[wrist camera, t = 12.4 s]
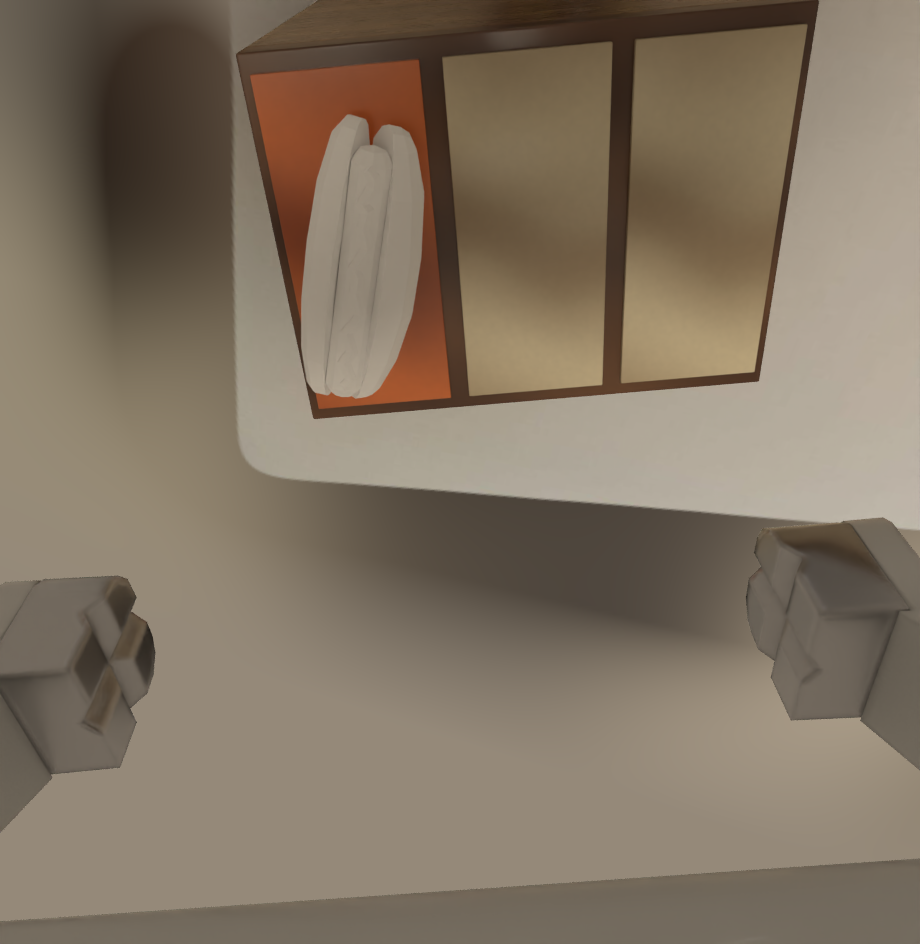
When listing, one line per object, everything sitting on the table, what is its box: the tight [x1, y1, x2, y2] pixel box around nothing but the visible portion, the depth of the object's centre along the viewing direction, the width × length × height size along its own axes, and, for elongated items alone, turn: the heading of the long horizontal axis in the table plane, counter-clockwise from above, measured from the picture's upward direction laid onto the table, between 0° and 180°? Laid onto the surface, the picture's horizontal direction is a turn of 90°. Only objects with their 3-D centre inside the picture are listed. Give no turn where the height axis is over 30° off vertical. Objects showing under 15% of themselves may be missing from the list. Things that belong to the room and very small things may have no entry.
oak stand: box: [246, 0, 760, 48], centre depth 32 cm, size 11×15×20 cm
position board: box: [236, 0, 819, 419], centre depth 24 cm, size 11×15×1 cm
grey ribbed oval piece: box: [301, 114, 424, 399], centre depth 22 cm, size 3×8×3 cm, turn 169°
